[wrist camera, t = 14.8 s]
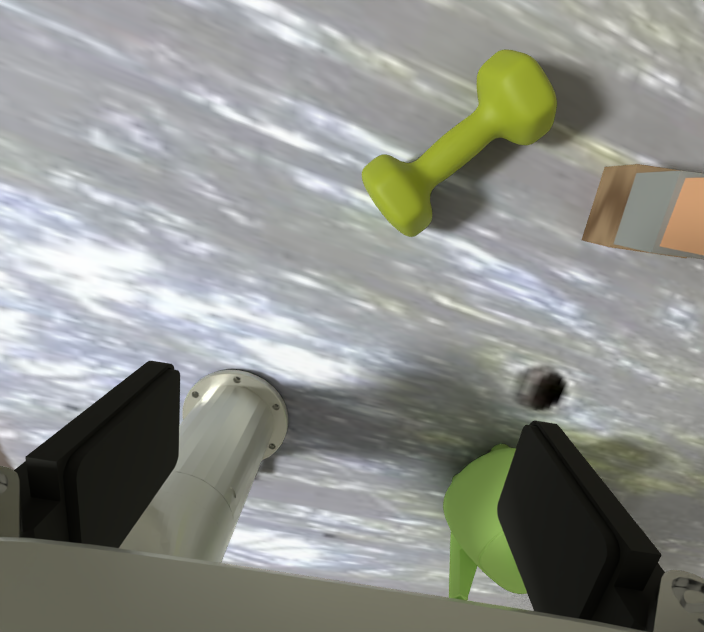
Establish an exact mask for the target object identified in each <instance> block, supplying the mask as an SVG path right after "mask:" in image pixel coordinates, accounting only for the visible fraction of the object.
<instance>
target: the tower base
mask: <svg viewBox="0 0 704 632" xmlns="http://www.w3.org/2000/svg"><path fill="white" fill-rule="evenodd" d="M665 171H681V170H674V169H667V168H660V167H653V166H647V165H640V164H635V165H623V166H612V167H605V168H604V171H603V174H602V177H601V181H600V184H599V187H598V190H597V193H596V196H595V199H594V203H593V206H592V209H591V212H590V215H589V218H588V221H587V224H586V228H585V231H584V234H583V237H582V240H583V241H587V242H591V243H595V244H599V245H603V246H607V247H612V248H619V249H626V250H633V251H640V252H646V251H642V250H637V249H633V248H629V247H624V246H620V245H616V244H614V241H615V238H616V234H617V231H618V228H619V225H620V222H621V219H622V216H623V213H624V210H625V207H626V204H627V201H628V197H629V194H630V191H631V188H632V185H633V182H634V179H635V176H636V173H647V172H665ZM646 253H650V252H646ZM653 254H657V253H653ZM660 255H665V254H660ZM667 256H673V255H667ZM674 257H681V256H674ZM681 258H687V257H681Z"/></svg>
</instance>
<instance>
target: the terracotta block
mask: <svg viewBox="0 0 704 632" xmlns="http://www.w3.org/2000/svg"><path fill="white" fill-rule="evenodd" d="M660 247H665V248H670V249H675V250H680V251H685V252H689V253H694V254H699V255H704V177H703V178H685V181H684V184H683V186H682V189H681V191H680V194H679V197H678V199H677V202H676V204H675V207H674V210H673V212H672V215H671V218H670V220H669V223H668V225H667V228H666V231H665V233H664V236H663V239H662V241H661V244H660Z"/></svg>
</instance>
